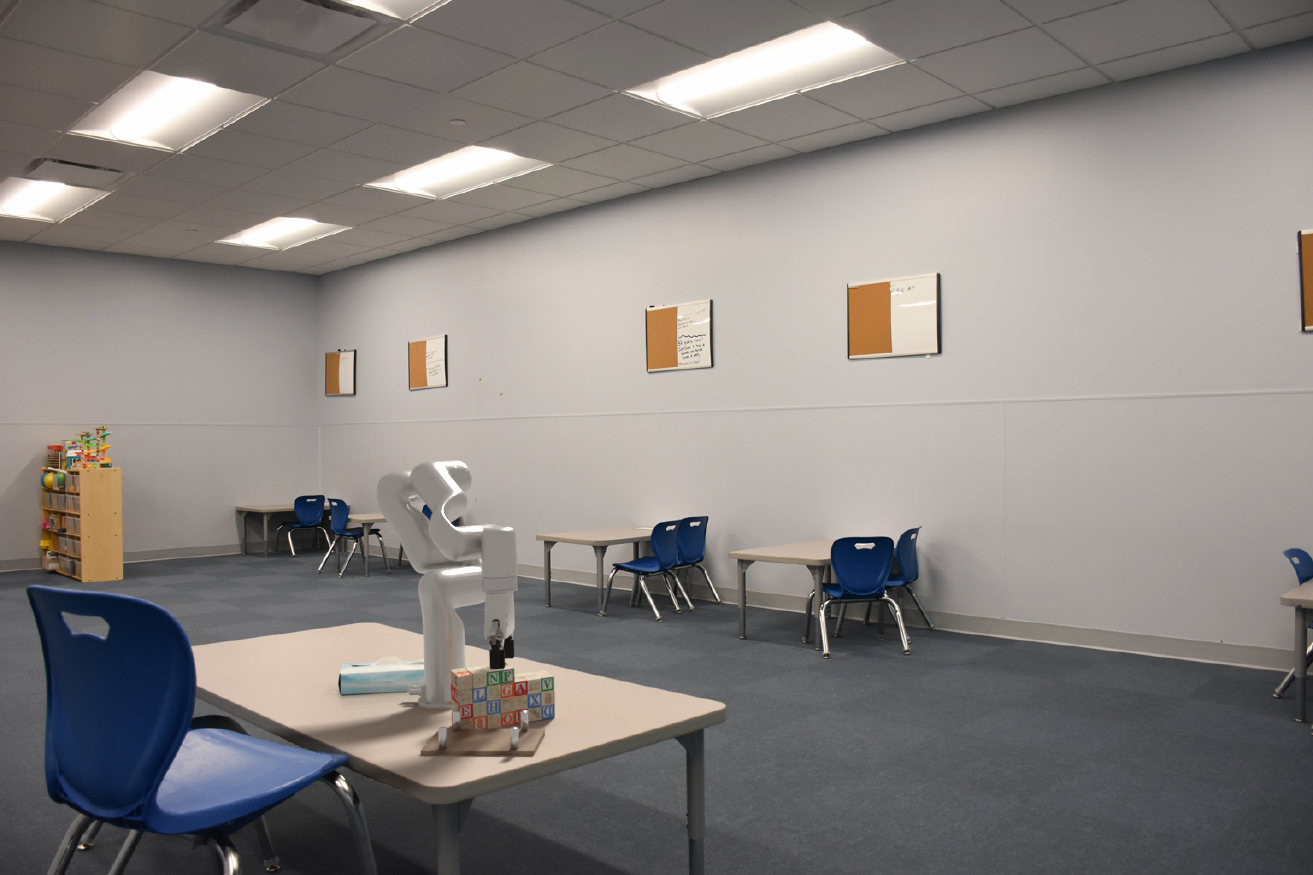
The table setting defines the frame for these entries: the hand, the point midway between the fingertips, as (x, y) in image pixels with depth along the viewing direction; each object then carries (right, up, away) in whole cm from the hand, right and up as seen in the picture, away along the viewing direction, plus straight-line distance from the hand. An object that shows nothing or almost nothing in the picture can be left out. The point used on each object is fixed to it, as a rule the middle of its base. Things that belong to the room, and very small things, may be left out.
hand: (502, 663), depth 199 cm
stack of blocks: (0, -13, +1) cm, 13 cm away
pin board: (-1, -13, -15) cm, 20 cm away
